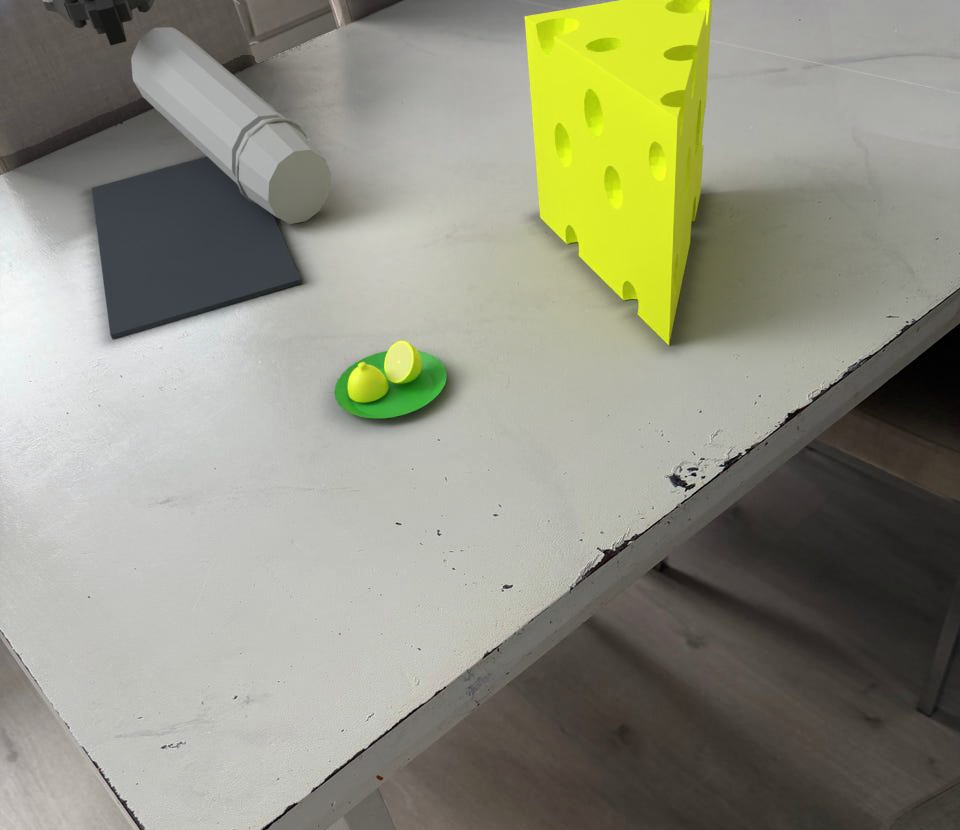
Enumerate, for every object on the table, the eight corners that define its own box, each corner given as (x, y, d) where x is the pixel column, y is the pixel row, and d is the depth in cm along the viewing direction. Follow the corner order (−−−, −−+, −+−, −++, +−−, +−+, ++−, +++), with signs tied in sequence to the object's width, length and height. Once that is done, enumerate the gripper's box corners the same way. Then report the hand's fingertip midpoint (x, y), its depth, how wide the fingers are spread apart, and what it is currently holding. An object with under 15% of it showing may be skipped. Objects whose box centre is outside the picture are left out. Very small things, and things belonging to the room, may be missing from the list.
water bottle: (108, 69, 86) (245, 195, 76) (160, 1, 85) (306, 121, 75) (175, 134, 95) (306, 256, 85) (223, 73, 93) (361, 190, 84)
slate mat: (93, 191, 92) (91, 187, 92) (245, 149, 94) (243, 145, 94) (112, 339, 73) (110, 334, 73) (302, 283, 75) (300, 279, 75)
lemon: (401, 344, 68) (393, 309, 65) (471, 384, 63) (465, 349, 61) (314, 395, 65) (303, 361, 63) (381, 441, 60) (372, 406, 58)
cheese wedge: (805, 215, 72) (838, -4, 60) (668, 345, 63) (677, 118, 52) (601, 171, 81) (597, -27, 69) (458, 279, 72) (426, 74, 61)
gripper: (173, -11, 99) (198, 55, 84) (55, 18, 98) (60, 91, 83) (145, -97, 93) (166, -42, 79) (19, -67, 92) (17, -6, 77)
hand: (112, 26), depth 81 cm, fingers closed
